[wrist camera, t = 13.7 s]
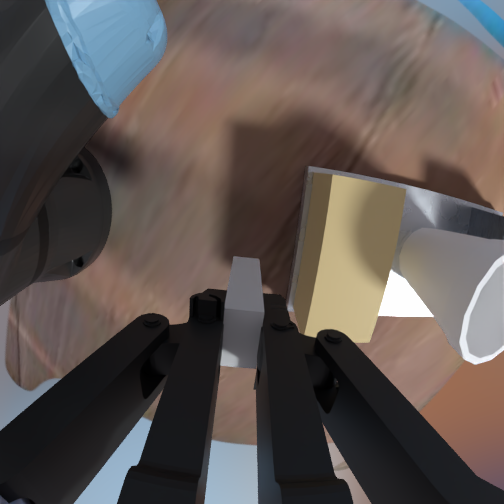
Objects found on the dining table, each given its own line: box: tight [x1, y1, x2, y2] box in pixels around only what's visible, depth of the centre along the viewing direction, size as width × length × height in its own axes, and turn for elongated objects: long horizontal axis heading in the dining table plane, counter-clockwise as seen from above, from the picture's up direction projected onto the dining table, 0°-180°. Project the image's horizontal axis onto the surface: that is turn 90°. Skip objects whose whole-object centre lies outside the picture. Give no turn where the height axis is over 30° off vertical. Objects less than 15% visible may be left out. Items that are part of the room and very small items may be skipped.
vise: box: [286, 166, 504, 316], centre depth 25 cm, size 26×14×8 cm, turn 84°
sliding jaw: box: [293, 172, 406, 343], centre depth 24 cm, size 6×13×6 cm, turn 174°
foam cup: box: [399, 228, 504, 364], centre depth 21 cm, size 10×9×13 cm
